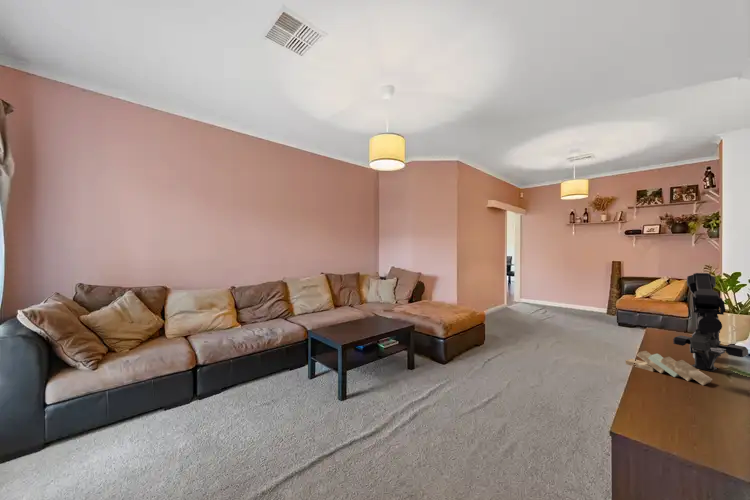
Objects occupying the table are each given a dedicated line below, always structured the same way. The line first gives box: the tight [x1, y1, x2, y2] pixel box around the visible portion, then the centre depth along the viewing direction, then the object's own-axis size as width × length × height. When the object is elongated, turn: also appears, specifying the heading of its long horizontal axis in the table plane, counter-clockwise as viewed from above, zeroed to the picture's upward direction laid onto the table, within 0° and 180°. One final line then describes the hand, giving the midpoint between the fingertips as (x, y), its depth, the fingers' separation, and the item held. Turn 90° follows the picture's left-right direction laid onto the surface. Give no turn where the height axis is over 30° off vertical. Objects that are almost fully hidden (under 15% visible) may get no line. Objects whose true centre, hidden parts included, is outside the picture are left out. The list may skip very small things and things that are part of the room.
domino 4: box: [660, 356, 694, 382], centre depth 126 cm, size 2×5×10 cm
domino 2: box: [636, 350, 667, 374], centre depth 134 cm, size 2×5×10 cm
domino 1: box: [625, 358, 657, 373], centre depth 137 cm, size 2×5×10 cm
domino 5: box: [673, 359, 713, 386], centre depth 122 cm, size 2×5×10 cm
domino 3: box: [648, 353, 681, 378], centre depth 130 cm, size 2×5×10 cm
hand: (709, 368), depth 118 cm, fingers closed
